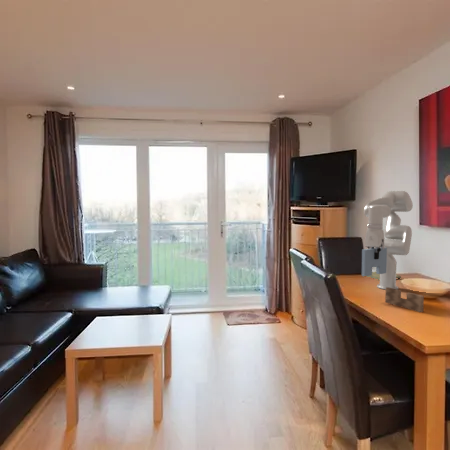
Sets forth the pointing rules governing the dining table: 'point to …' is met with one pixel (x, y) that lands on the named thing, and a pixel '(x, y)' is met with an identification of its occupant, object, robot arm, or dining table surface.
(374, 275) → the decorative tile
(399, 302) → the mottled stone notched panel
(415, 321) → the dining table surface
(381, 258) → the slate slotted plate
